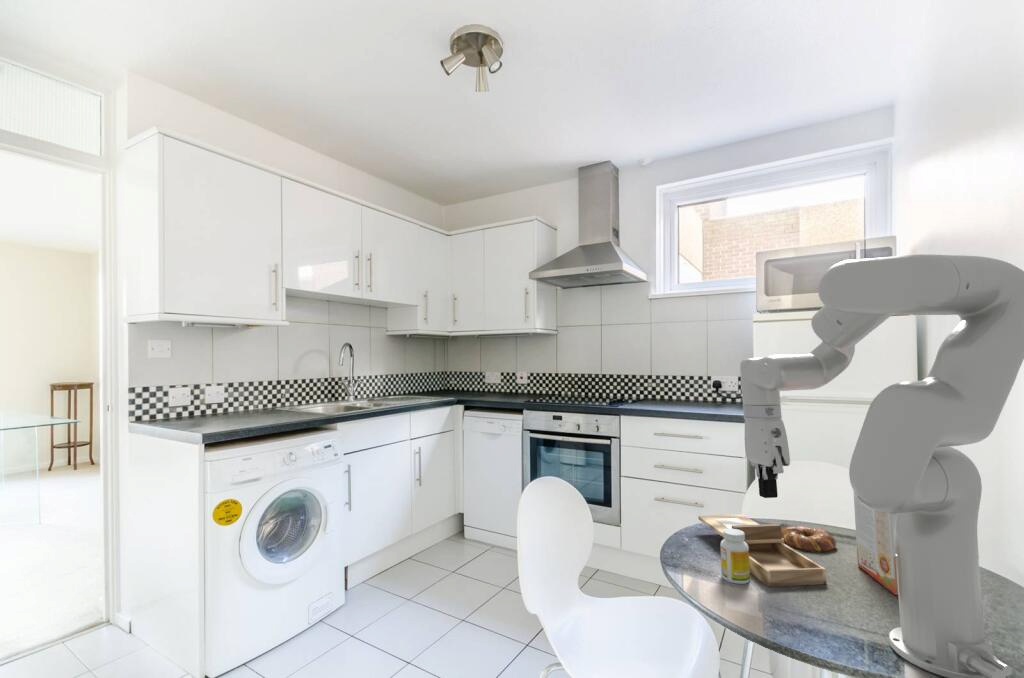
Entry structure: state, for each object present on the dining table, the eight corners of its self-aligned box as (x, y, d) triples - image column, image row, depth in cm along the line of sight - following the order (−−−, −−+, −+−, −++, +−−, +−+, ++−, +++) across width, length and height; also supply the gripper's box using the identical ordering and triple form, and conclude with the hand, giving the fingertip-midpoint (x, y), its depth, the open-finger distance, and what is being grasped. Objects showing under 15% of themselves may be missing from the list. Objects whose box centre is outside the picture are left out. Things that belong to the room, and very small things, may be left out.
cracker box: (931, 599, 88) (923, 485, 89) (894, 596, 89) (886, 484, 90) (888, 567, 102) (881, 469, 103) (856, 565, 103) (850, 468, 104)
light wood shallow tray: (826, 584, 95) (825, 568, 95) (768, 586, 94) (767, 571, 95) (773, 549, 113) (772, 536, 113) (724, 551, 112) (723, 538, 112)
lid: (784, 542, 109) (783, 525, 109) (733, 544, 108) (732, 527, 108) (742, 517, 126) (741, 503, 127) (698, 519, 126) (697, 504, 126)
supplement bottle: (716, 578, 99) (714, 531, 99) (729, 570, 102) (727, 525, 102) (743, 587, 94) (740, 538, 95) (755, 579, 98) (752, 531, 98)
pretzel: (775, 547, 115) (774, 531, 115) (782, 534, 124) (781, 519, 124) (835, 557, 108) (833, 541, 108) (838, 543, 117) (836, 527, 117)
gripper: (800, 414, 99) (807, 505, 97) (759, 410, 113) (765, 488, 112) (764, 415, 98) (772, 506, 97) (729, 411, 113) (734, 489, 111)
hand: (768, 496), depth 104 cm, fingers closed
